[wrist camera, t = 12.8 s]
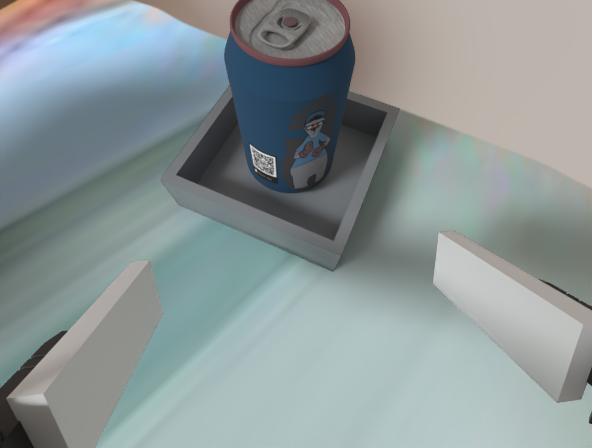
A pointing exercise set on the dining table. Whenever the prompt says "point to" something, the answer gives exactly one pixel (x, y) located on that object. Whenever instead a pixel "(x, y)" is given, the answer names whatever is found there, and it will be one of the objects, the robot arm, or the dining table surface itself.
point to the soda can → (289, 86)
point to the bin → (275, 205)
